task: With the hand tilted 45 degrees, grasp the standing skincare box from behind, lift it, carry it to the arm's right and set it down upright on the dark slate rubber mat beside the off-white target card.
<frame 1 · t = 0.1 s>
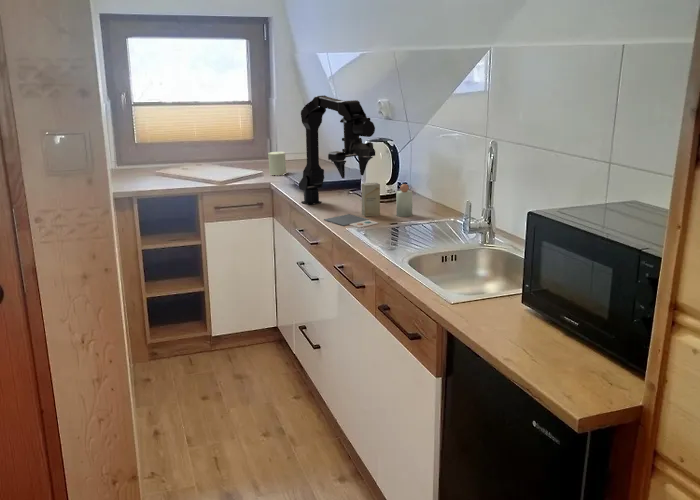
hand: (352, 176, 237), 15 cm above the worktop, tool pointing down, fingers open, 9 cm apart
can: (277, 174, 333), on the worktop
target card: (363, 224, 226), on the worktop
mat: (346, 220, 232), on the worktop
perfume bottle: (404, 215, 238), on the worktop
skincare box: (371, 215, 239), on the worktop
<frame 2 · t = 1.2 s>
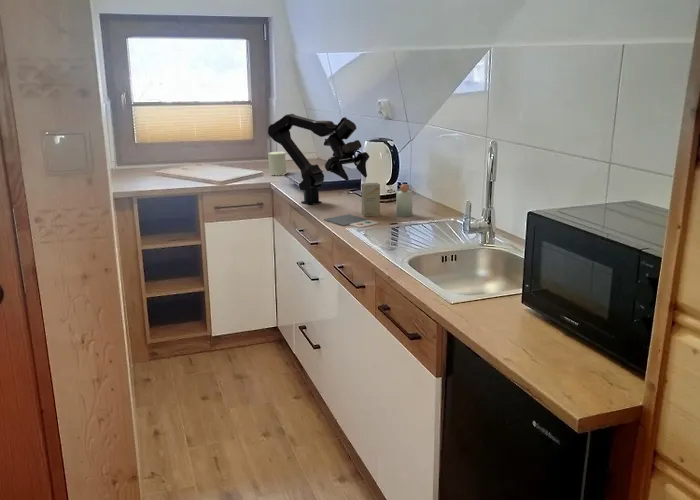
hand: (357, 178, 242), 13 cm above the worktop, tool tilted 45°, fingers open, 9 cm apart
nothing on the worktop moved.
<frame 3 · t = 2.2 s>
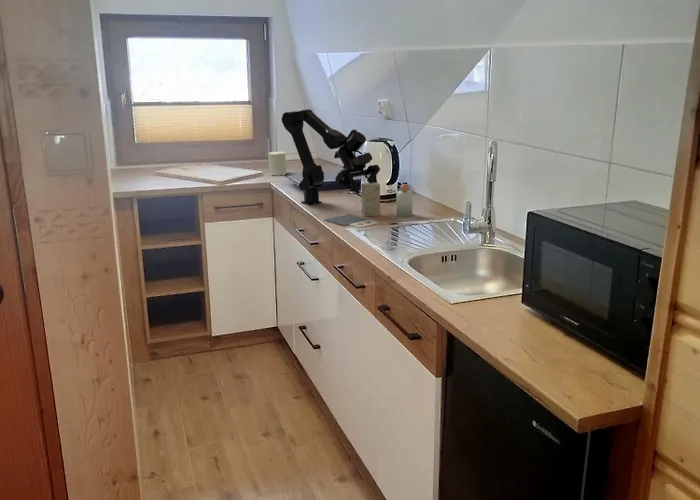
hand: (368, 191, 238), 9 cm above the worktop, tool tilted 45°, fingers open, 9 cm apart
nothing on the worktop moved.
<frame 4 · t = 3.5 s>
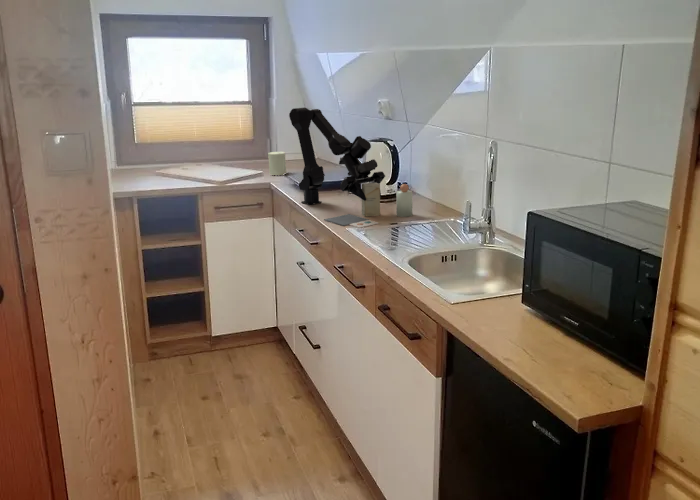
hand: (373, 198, 236), 7 cm above the worktop, tool tilted 45°, fingers closed on skincare box, 7 cm apart
skincare box: (371, 215, 239), on the worktop, touching gripper
everything else where it was.
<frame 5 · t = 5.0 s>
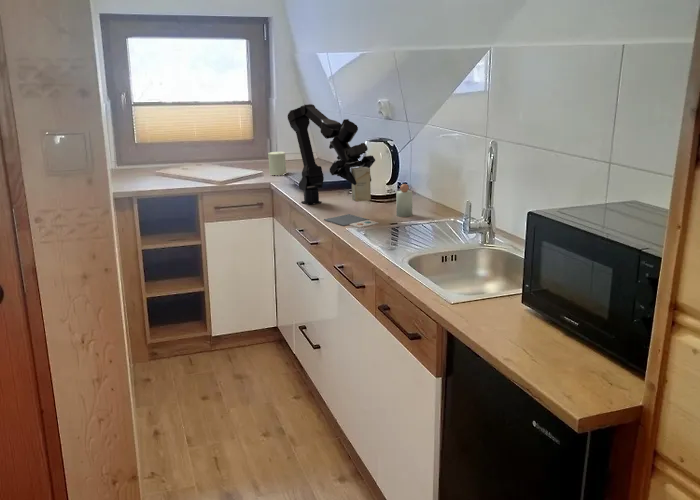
hand: (363, 182, 232), 13 cm above the worktop, tool tilted 45°, fingers closed on skincare box, 7 cm apart
skincare box: (361, 200, 235), point 6 cm above the worktop, touching gripper
everything else where it was.
when the fingers open (8 cm above the worktop, at t = 6.9 s): skincare box stays where it is, resting on mat.
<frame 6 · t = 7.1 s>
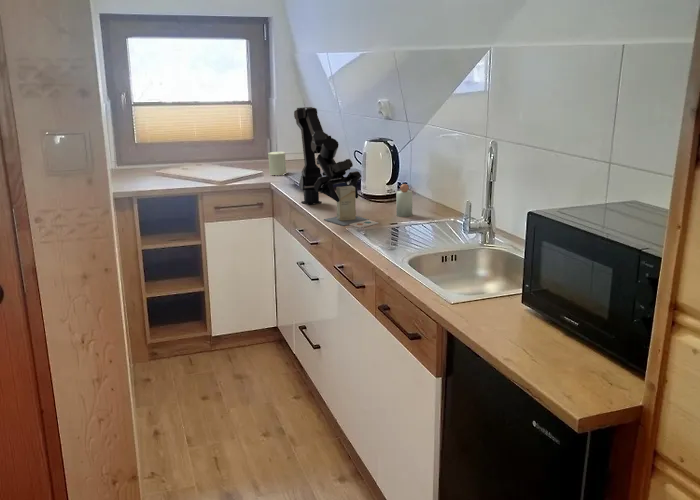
hand: (348, 199, 229), 8 cm above the worktop, tool tilted 45°, fingers open, 8 cm apart
skincare box: (346, 219, 232), resting on mat
everything else where it was.
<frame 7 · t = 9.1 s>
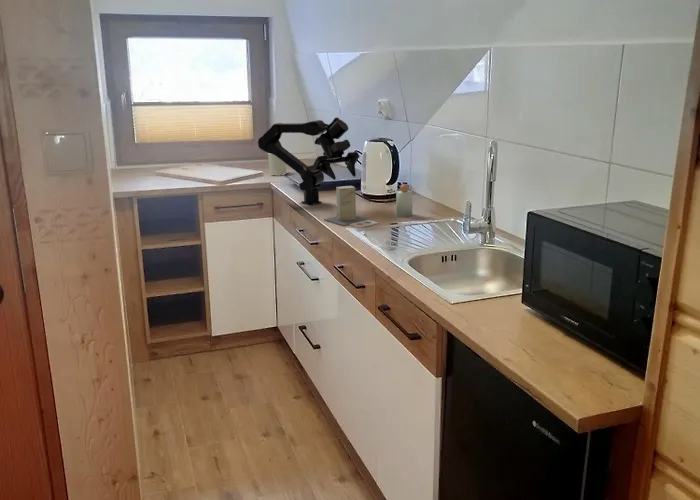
hand: (345, 177, 245), 13 cm above the worktop, tool tilted 45°, fingers open, 9 cm apart
nothing on the worktop moved.
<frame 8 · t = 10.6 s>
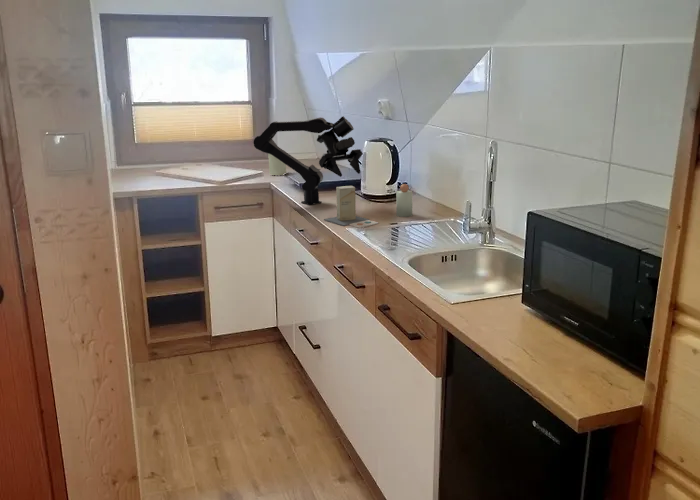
hand: (350, 174, 248), 14 cm above the worktop, tool tilted 45°, fingers open, 9 cm apart
nothing on the worktop moved.
at the end: skincare box inside the target area on the mat (0.3 cm from its centre), point 0.2 cm above the mat's base; skincare box tilted 0°; the gripper is holding nothing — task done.
